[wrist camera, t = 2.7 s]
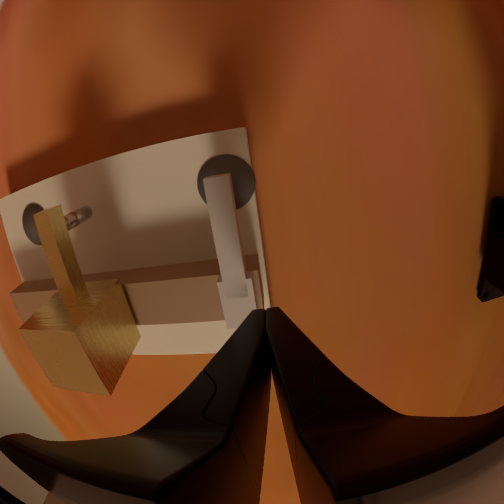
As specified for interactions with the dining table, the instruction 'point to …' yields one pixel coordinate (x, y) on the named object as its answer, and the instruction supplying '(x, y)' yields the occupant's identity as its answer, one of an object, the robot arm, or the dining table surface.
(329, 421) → the robot arm
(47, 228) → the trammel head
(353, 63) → the dining table surface
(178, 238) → the gauge board
